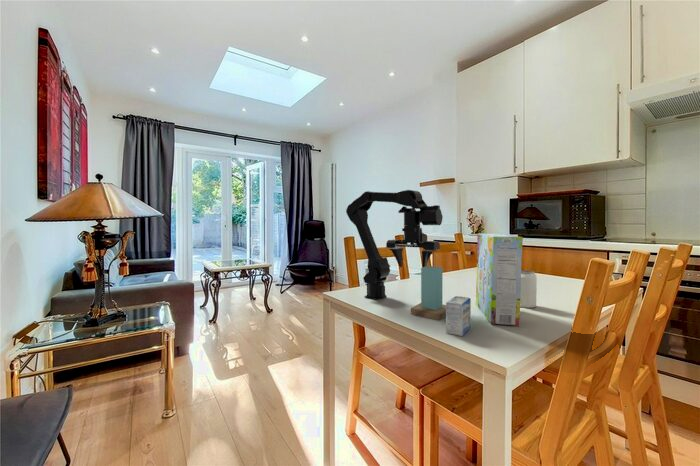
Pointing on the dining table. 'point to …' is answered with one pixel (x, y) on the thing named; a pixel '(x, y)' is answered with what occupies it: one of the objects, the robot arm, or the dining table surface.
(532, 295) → the can
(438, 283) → the carton
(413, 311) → the podium
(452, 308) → the medicine box
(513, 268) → the snack box
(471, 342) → the dining table surface
